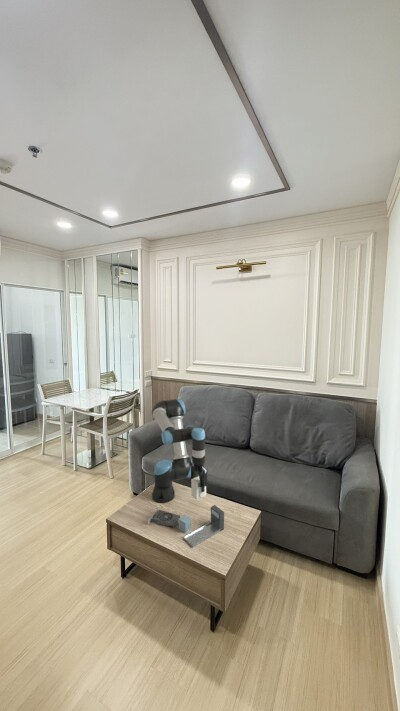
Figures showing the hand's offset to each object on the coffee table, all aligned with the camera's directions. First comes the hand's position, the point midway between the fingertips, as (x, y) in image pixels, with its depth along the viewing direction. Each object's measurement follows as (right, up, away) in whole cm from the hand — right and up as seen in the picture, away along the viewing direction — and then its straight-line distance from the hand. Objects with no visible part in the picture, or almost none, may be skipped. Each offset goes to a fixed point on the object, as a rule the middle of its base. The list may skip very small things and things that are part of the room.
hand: (198, 494), depth 167 cm
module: (0, -1, 0) cm, 1 cm away
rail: (+3, -17, -9) cm, 20 cm away
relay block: (-8, -17, -5) cm, 19 cm away
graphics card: (-20, -17, +1) cm, 27 cm away
